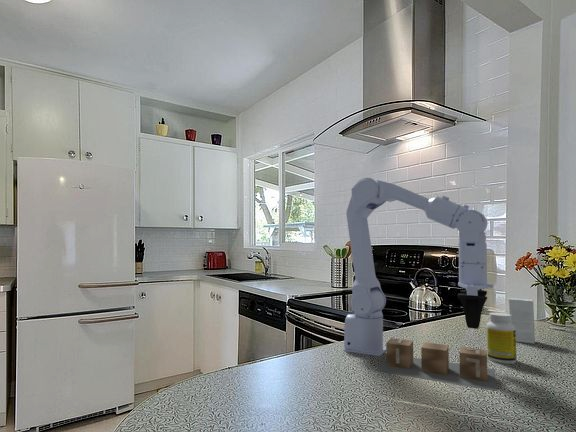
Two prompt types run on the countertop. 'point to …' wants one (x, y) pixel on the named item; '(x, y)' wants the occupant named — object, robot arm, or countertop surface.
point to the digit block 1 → (399, 353)
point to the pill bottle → (501, 338)
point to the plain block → (435, 358)
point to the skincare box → (523, 319)
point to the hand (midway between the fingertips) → (473, 324)
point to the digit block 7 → (473, 363)
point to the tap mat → (451, 376)
